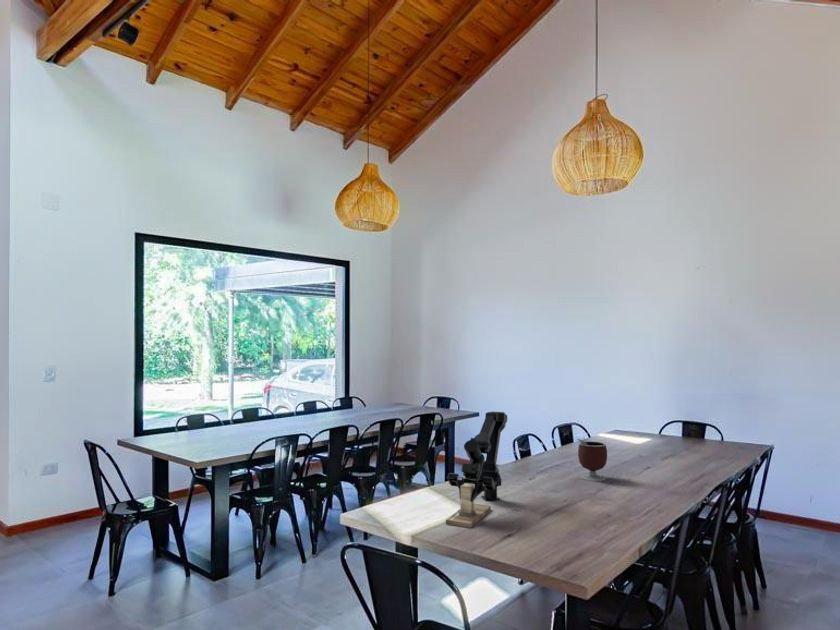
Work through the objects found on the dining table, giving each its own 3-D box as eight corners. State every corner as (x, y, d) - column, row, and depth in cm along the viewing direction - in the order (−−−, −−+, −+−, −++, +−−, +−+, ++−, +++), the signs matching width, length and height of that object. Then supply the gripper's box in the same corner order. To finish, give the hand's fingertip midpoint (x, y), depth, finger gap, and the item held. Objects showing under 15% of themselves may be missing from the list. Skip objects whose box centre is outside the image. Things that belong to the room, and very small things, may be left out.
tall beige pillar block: (463, 511, 223) (463, 483, 224) (475, 513, 221) (475, 484, 222) (458, 515, 219) (458, 486, 219) (471, 516, 217) (470, 487, 217)
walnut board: (467, 506, 235) (467, 502, 235) (490, 509, 231) (490, 505, 231) (445, 523, 213) (445, 519, 213) (470, 527, 209) (470, 523, 209)
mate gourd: (596, 473, 291) (595, 434, 292) (613, 480, 278) (612, 439, 278) (570, 476, 286) (569, 436, 287) (586, 482, 273) (585, 441, 274)
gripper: (448, 452, 229) (437, 486, 218) (492, 456, 221) (484, 492, 210) (455, 468, 235) (445, 502, 225) (499, 472, 227) (490, 507, 217)
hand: (465, 500), depth 219 cm, fingers closed on tall beige pillar block, 4 cm apart
